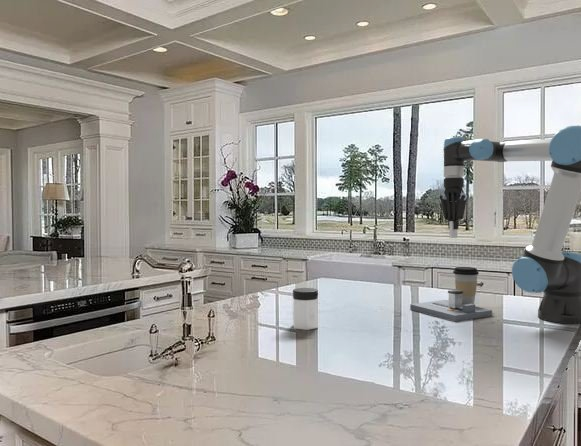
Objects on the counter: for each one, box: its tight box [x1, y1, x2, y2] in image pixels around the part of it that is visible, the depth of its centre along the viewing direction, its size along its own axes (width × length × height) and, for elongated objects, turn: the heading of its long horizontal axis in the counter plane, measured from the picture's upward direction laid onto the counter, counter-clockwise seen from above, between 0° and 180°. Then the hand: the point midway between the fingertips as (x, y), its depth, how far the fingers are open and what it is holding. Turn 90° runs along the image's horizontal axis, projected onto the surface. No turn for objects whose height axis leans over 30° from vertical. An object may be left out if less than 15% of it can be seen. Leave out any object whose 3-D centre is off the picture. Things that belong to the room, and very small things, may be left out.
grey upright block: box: [447, 289, 463, 308], centre depth 176 cm, size 3×4×6 cm
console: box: [409, 299, 493, 322], centre depth 179 cm, size 22×18×5 cm
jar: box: [292, 287, 319, 331], centre depth 158 cm, size 9×8×12 cm
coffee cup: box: [452, 266, 479, 304], centre depth 188 cm, size 9×9×15 cm
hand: (453, 237), depth 192 cm, fingers closed
